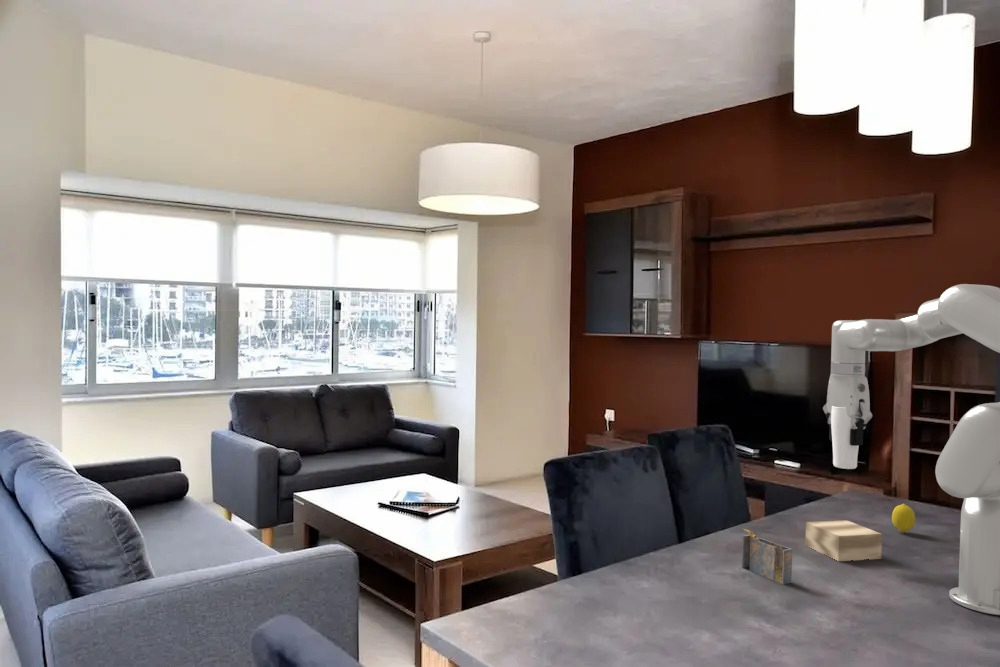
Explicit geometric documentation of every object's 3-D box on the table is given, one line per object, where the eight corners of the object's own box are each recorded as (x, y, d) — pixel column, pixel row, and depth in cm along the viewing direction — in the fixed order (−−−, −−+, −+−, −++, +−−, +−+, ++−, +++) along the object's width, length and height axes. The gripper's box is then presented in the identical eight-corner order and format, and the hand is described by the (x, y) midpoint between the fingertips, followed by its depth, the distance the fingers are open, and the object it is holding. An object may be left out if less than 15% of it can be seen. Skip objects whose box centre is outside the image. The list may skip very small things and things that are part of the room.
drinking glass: (863, 470, 169) (865, 408, 169) (833, 469, 170) (835, 407, 170) (855, 465, 176) (857, 405, 175) (826, 463, 177) (828, 404, 177)
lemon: (886, 531, 193) (887, 502, 193) (900, 529, 195) (901, 500, 195) (905, 536, 188) (906, 507, 188) (919, 534, 190) (920, 505, 190)
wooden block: (881, 558, 169) (882, 533, 169) (838, 561, 166) (839, 536, 166) (846, 543, 180) (846, 520, 180) (805, 545, 178) (805, 522, 178)
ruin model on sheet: (740, 569, 160) (741, 527, 160) (749, 567, 161) (750, 525, 161) (781, 586, 150) (782, 541, 150) (791, 584, 151) (792, 539, 151)
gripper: (887, 372, 165) (885, 448, 165) (836, 368, 182) (834, 437, 182) (860, 372, 164) (858, 449, 164) (811, 368, 180) (809, 437, 181)
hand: (845, 442), depth 173 cm, fingers closed on drinking glass, 6 cm apart
